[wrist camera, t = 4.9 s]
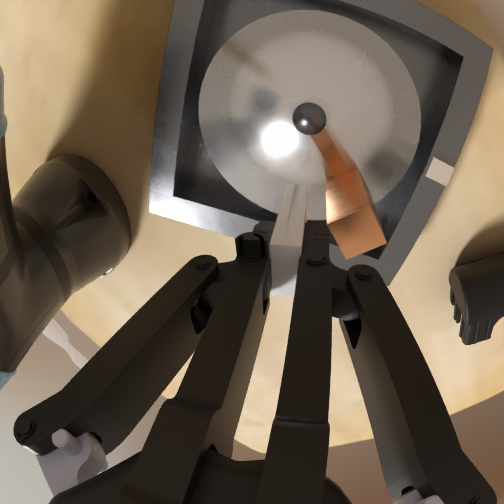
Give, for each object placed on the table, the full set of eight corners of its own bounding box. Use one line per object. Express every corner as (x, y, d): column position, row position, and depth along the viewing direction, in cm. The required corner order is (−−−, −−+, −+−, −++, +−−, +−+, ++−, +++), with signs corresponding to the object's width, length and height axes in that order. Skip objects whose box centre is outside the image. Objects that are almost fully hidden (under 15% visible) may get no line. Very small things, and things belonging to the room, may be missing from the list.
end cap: (524, 228, 19) (557, 270, 13) (517, 281, 22) (539, 324, 17) (445, 251, 23) (469, 301, 17) (445, 303, 26) (460, 353, 21)
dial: (175, 88, 18) (103, 106, 12) (340, -14, 12) (352, -64, 5) (278, 232, 24) (258, 306, 17) (438, 160, 17) (491, 213, 10)
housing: (170, 191, 26) (146, 214, 22) (209, -29, 14) (185, -46, 10) (382, 256, 25) (389, 289, 21) (467, 49, 13) (496, 48, 9)
